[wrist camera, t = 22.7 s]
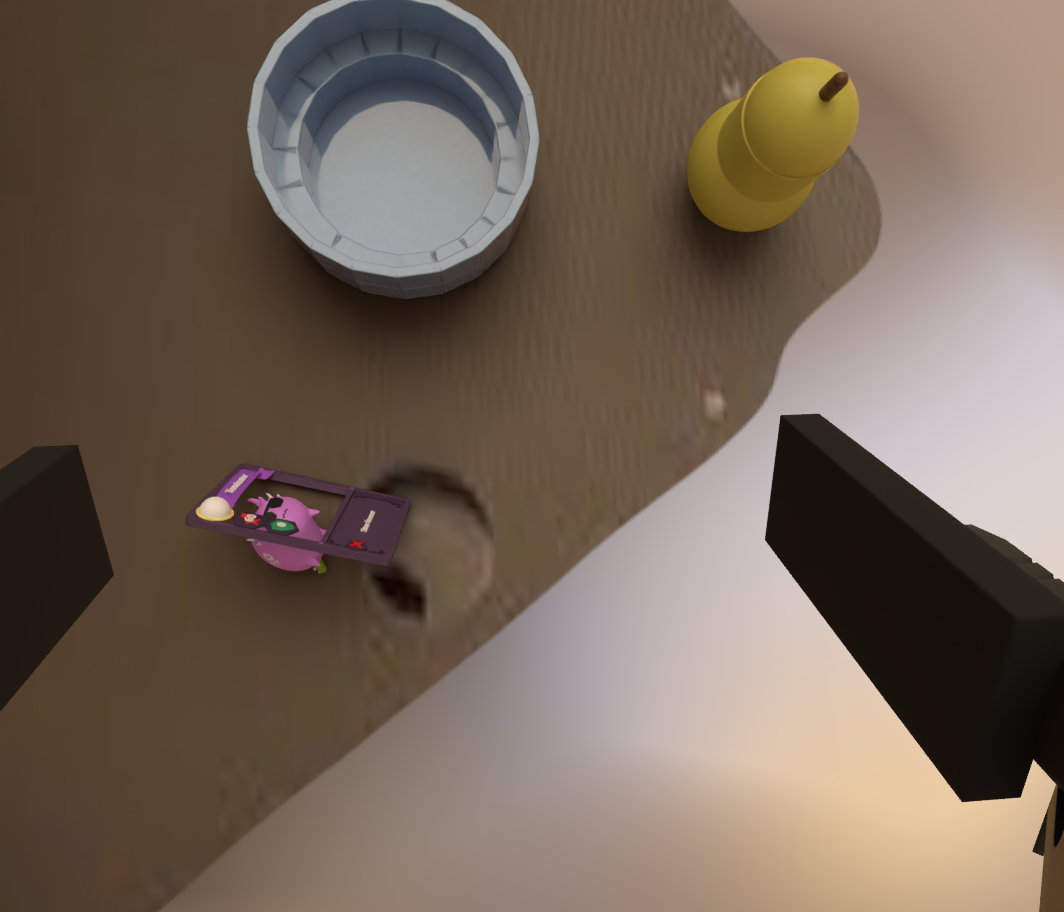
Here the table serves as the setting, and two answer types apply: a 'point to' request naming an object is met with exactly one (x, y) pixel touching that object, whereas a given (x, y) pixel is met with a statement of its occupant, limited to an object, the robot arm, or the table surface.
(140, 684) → the table surface
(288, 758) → the table surface
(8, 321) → the table surface
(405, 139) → the bowl
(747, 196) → the pear
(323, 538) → the game card
